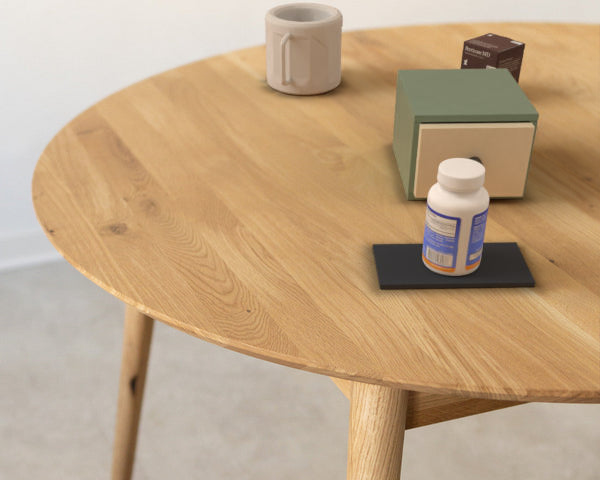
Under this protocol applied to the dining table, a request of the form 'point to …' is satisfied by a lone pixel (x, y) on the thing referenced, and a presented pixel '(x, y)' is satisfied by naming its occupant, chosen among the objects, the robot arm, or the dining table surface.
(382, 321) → the dining table surface
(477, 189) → the pill bottle
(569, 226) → the dining table surface
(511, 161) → the drawer
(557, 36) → the dining table surface
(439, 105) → the cabinet
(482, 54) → the box
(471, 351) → the dining table surface
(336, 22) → the mug
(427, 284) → the mat
